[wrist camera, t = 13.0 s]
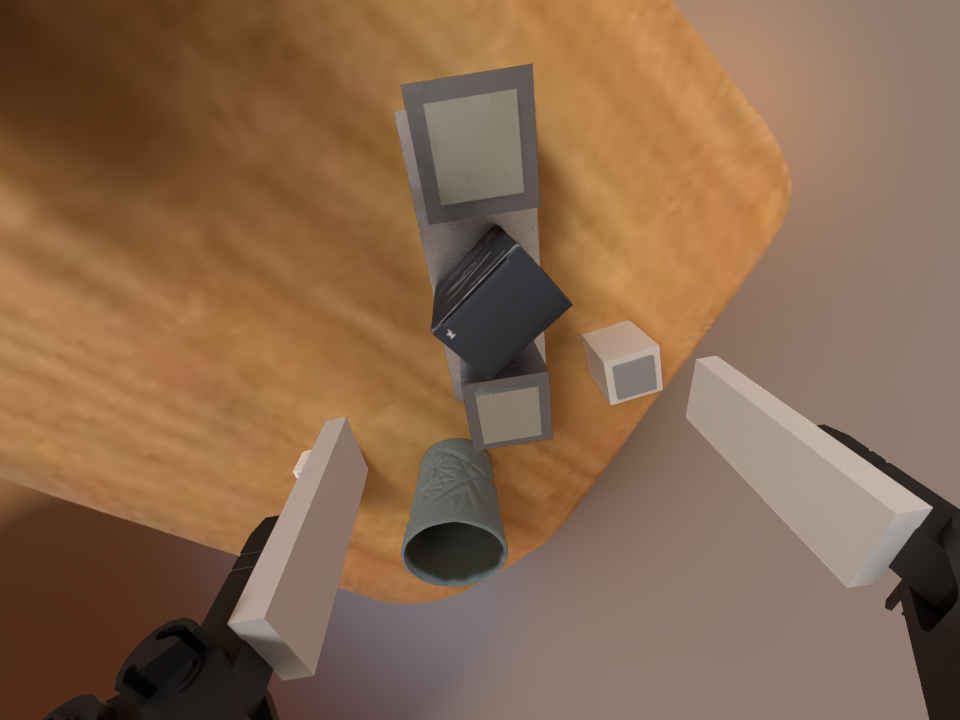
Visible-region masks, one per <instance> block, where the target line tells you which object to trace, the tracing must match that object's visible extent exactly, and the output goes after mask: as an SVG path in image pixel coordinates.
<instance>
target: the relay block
mask: <svg viewBox="0 0 960 720" xmlns="http://www.w3.org/2000/svg"><path fill="white" fill-rule="evenodd" d="M582 339H583V344H584V350H585V355H586V360H587V365H588V370H589V374H590V376H591V377H592V379H593V380H594V381H595V383H596V384H597V386H598V387H599V389H600V390H601V392H602V393H603V395H604V396H605V398H606V399H607V401H608V402H609V404H610V405H614V404H618V403H621V402H624V401H628V400H631V399H634V398H638V397H641V396H644V395H648V394H651V393H655V392H658V391H661V390H663V387H662V374H661V361H660V347H659V345H658V344H657V343H656V342H655V341H654V340H652V339H651V338H650V337H649V336H648V335H646V334H645V333H644V332H643V331H642V330H641V329H639V328H638V327H637V326H636V325H635V324H633V323H632V322H631V321H630V320H627V321H624V322H620V323H617V324H614V325H611V326H608V327H605V328H602V329H598V330H595V331H592V332H589V333H586V334H583V335H582Z"/></svg>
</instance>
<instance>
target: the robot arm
mask: <svg viewBox="0 0 960 720" xmlns="http://www.w3.org/2000/svg"><path fill="white" fill-rule="evenodd" d="M686 418H687V420H689V422H690V423H691V424H692V425H693V426H694V427H695V428H696V429H697V430H698V431H699V432H700V433H701V434H702V435H703V436H704V437H705V438H706V439H707V441H708V442H709V443H710V444H711V445H712V446H713V447H714V448H715V449H716V450H717V451H718V452H719V453H720V454H721V455H722V456H723V457H724V458H725V460H727V462H728V463H729V464H730V465H731V466H732V467H733V468H734V469H735V470H736V471H737V472H738V473H739V474H740V475H741V476H742V477H743V478H744V479H745V481H746V482H747V483H748V484H749V485H750V486H751V487H752V488H753V489H754V490H755V491H756V492H757V493H758V494H759V495H760V496H761V497H762V498H763V500H764V501H765V502H766V503H767V504H768V505H769V506H770V507H771V508H772V509H773V510H774V511H775V512H776V513H777V514H778V515H779V516H780V517H781V519H782V520H783V521H784V522H785V523H786V524H787V525H788V526H789V527H790V528H791V529H792V530H793V531H794V532H795V533H796V534H797V535H798V536H799V537H800V539H802V541H803V542H804V543H805V544H806V545H807V546H808V547H809V548H810V549H811V550H812V551H813V552H814V553H815V554H816V555H817V556H818V557H819V558H820V560H821V561H822V562H823V563H824V564H825V565H826V566H827V567H828V568H829V569H830V570H831V571H832V572H833V573H834V574H835V575H836V576H837V577H838V579H840V581H841V582H842V583H843V584H844V585H845V586H846V587H853V586H860V585H866V584H872V583H877V582H879V581H880V579H881V578H882V577H883V575H884V574H885V573H886V571H887V570H888V568H891V569H892V570H893V571H894V572H895V573H896V574H897V575H898V576H899V577H901V578H902V580H901V582H900V583H899V584H898V586H897V587H896V588H895V589H894V591H893V592H892V593H891V594H890V596H889V597H888V598H887V600H886V604H885V608H886V609H889V610H893V608H894V607H895V606H896V605H897V604H898V602H899V601H900V600H901V603H902V606H903V612H902V615H904V616H905V619H906V623H907V628H908V632H909V636H910V640H911V644H912V649H913V653H914V657H915V661H916V665H917V670H918V674H919V678H920V682H921V686H922V690H923V695H924V699H925V703H926V707H927V711H928V715H929V720H960V509H958V508H957V507H955V506H954V505H952V504H951V503H949V502H948V501H946V500H945V499H943V498H942V497H940V496H939V495H937V494H936V493H934V492H933V491H931V490H930V489H928V488H927V487H925V486H924V485H922V484H921V483H919V482H918V481H916V480H915V479H913V478H912V477H910V476H909V475H907V474H906V473H904V472H903V471H901V470H900V469H898V468H897V467H895V466H894V465H892V464H891V463H886V461H885V459H883V458H882V457H880V456H879V455H877V454H876V453H874V452H873V451H871V452H870V451H869V450H868V448H867V447H865V446H864V445H862V444H861V443H859V442H858V441H856V440H855V439H853V438H852V437H850V436H849V435H847V434H845V433H842V432H840V431H838V430H836V429H833V428H831V427H829V426H826V425H818V426H816V425H814V424H813V423H811V422H810V421H809V420H807V419H806V418H805V417H803V416H802V415H800V414H799V413H797V412H796V411H794V410H793V409H792V408H790V407H789V406H787V405H786V404H784V403H783V402H782V401H780V400H779V399H777V398H776V397H774V396H773V395H772V394H770V393H769V392H767V391H766V390H765V389H763V388H762V387H760V386H759V385H757V384H756V383H755V382H753V381H751V380H750V379H749V378H747V377H746V376H745V375H743V374H742V373H740V372H739V371H738V370H736V369H735V368H733V367H732V366H730V365H729V364H727V363H726V362H725V361H723V360H722V359H720V358H719V357H718V356H712V357H707V358H700V359H696V363H695V368H694V374H693V379H692V385H691V391H690V396H689V401H688V407H687V413H686ZM367 474H368V468H367V465H366V463H365V460H364V458H363V456H362V453H361V451H360V448H359V446H358V444H357V441H356V439H355V437H354V434H353V432H352V429H351V427H350V425H349V422H348V420H347V417H343V418H337V419H331V420H326V421H325V423H324V425H323V428H322V430H321V432H320V434H319V436H318V438H317V440H316V442H315V444H314V446H313V448H312V450H311V452H310V454H309V456H308V458H307V461H306V463H305V465H304V467H303V469H302V471H301V473H300V475H299V477H298V479H297V481H296V483H295V485H294V487H293V489H292V491H291V494H290V496H289V498H288V500H287V502H286V504H285V506H284V508H283V510H282V512H281V514H280V515H279V516H273V517H267V518H265V519H264V520H263V521H262V522H261V523H260V525H259V526H258V527H257V528H256V529H255V530H254V531H253V532H252V533H251V534H250V536H249V538H248V540H247V542H246V544H245V545H244V547H243V549H242V551H241V553H240V554H241V555H240V557H238V558H237V560H236V562H235V564H234V566H233V568H232V572H231V573H229V575H228V577H227V579H226V581H225V583H224V584H223V586H222V588H221V590H220V592H219V594H218V596H217V597H216V599H215V601H214V603H213V605H212V607H211V608H210V610H209V612H208V614H207V616H206V618H205V620H204V622H203V623H202V625H201V627H200V626H199V625H198V624H197V623H196V622H195V621H194V620H193V619H188V618H181V619H177V620H173V621H170V622H168V623H166V624H165V625H163V626H161V627H160V628H158V629H156V630H155V631H153V632H152V633H151V634H150V635H149V636H148V637H147V638H145V639H144V640H143V641H142V642H141V643H140V644H139V645H138V646H137V647H136V648H135V649H134V651H133V652H132V653H131V654H130V655H129V656H128V658H127V659H126V661H125V663H124V664H123V666H122V668H121V669H120V671H119V673H118V675H117V679H116V683H115V687H114V689H115V690H116V691H118V692H119V693H121V694H119V695H117V696H115V697H114V698H111V699H109V700H107V701H104V700H102V699H100V698H99V697H97V696H95V695H81V696H78V697H76V698H73V699H71V700H69V701H67V702H65V703H64V704H62V705H61V706H60V707H58V708H57V709H55V710H54V711H52V712H51V713H50V714H48V715H47V716H46V717H45V718H44V719H43V720H279V717H278V714H277V711H276V708H275V705H274V702H273V699H272V696H271V694H270V693H269V691H268V690H267V686H268V683H269V680H270V677H271V674H272V671H274V672H275V673H276V674H277V675H278V676H279V677H280V678H281V679H282V680H283V681H284V680H290V679H296V678H302V677H307V676H314V674H315V670H316V666H317V662H318V659H319V655H320V651H321V647H322V644H323V640H324V636H325V632H326V629H327V625H328V621H329V617H330V613H331V610H332V606H333V602H334V598H335V595H336V591H337V587H338V583H339V579H340V576H341V572H342V568H343V564H344V561H345V557H346V553H347V549H348V545H349V542H350V538H351V534H352V530H353V527H354V523H355V519H356V515H357V511H358V508H359V504H360V500H361V496H362V493H363V489H364V485H365V481H366V477H367Z"/></svg>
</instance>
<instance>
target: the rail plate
mask: <svg viewBox="0 0 960 720" xmlns="http://www.w3.org/2000/svg"><path fill="white" fill-rule="evenodd" d="M401 88H402V93H403V98H404V103H405V108H406V110H401V111H395V112H394V114H395V119H396V124H397V128H398V133H399V138H400V142H401V147H402V152H403V156H404V161H405V166H406V170H407V175H408V180H409V184H410V189H411V194H412V198H413V203H414V208H415V212H416V217H417V222H418V226H419V231H420V236H421V240H422V245H423V250H424V254H425V259H426V264H427V268H428V273H429V278H430V282H431V287H432V292H433V296H434V295H435V287H436V286H437V285H438V284H439V283H440V282H441V281H442V280H443V279H444V278H445V277H446V276H447V275H448V274H449V273H450V272H451V271H452V270H453V268H454V267H455V266H456V265H457V264H458V263H459V262H460V261H461V260H462V259H463V258H464V256H466V255H467V253H468V252H469V251H470V250H471V249H472V248H473V247H474V246H475V245H476V244H477V243H478V241H480V239H481V238H482V237H483V236H484V235H485V234H486V233H487V232H488V231H489V230H490V229H491V228H492V227H493V226H494V225H495V224H497V225H500V226H501V227H502V228H503V229H504V231H505V232H506V233H507V234H508V235H509V236H510V237H512V238H513V239H514V240H515V241H516V242H517V243H519V244H520V245H521V247H522V248H523V249H524V250H525V251H526V252H527V253H528V254H529V255H530V256H531V257H532V259H533V260H534V261H535V262H536V263H537V264H538V265H539V266H540V252H539V234H538V217H537V207H540V195H539V177H538V158H537V139H536V120H535V102H534V83H533V64H527V65H521V66H515V67H509V68H503V69H497V70H490V71H484V72H478V73H472V74H466V75H460V76H453V77H447V78H441V79H435V80H429V81H423V82H416V83H410V84H404V85H401ZM444 348H445V353H446V357H447V362H448V367H449V371H450V376H451V381H452V385H453V390H454V395H455V399H456V401H462V400H464V403H465V408H466V413H467V418H468V423H469V428H470V433H471V438H472V443H473V448H474V451H480V450H486V449H492V448H498V447H504V446H511V445H517V444H523V443H529V442H536V441H542V440H548V439H553V438H552V419H551V401H550V382H549V370H548V368H547V366H546V356H545V339H544V331H543V332H542V333H541V334H540V335H539V336H538V337H537V338H536V339H534V340H533V341H532V342H531V343H530V344H529V345H528V346H527V347H526V348H524V349H523V350H522V351H521V352H520V353H519V354H518V355H517V356H516V357H515V358H513V359H512V360H511V361H510V362H509V363H508V364H507V365H506V366H505V367H503V368H502V369H501V370H500V371H499V372H498V373H497V374H496V375H495V376H494V377H492V378H491V379H490V380H488V379H487V378H486V377H484V376H483V375H482V374H480V373H479V372H478V371H477V370H475V369H474V368H473V367H472V366H470V365H469V364H468V363H467V362H465V361H464V360H463V359H462V358H461V357H459V356H458V355H457V354H456V353H454V352H453V351H452V350H451V349H450V348H448V347H447V346H446V345H445V344H444Z"/></svg>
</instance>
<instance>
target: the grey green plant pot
mask: <svg viewBox="0 0 960 720" xmlns="http://www.w3.org/2000/svg"><path fill="white" fill-rule="evenodd" d="M492 480H493V472H492V467H491V462H490V459H489V456H488V454H487V452H486V451H485V450H480V451H474V448H473V443H472V441H470V440H466V439H457V438H456V439H448V440H444V441H441V442H439V443H437V444H435V445H433V446H432V447H431V448H430V449H429V450H428V451H427V452H426V453H425V455H424V457H423V459H422V462H421V466H420V472H419V476H418V481H417V485H416V492H415V494H414V499H413V501H412V507H411V511H410V515H411V518H410V520H409V522H408V524H407V528H406V533H405V537H404V541H403V545H402V549H401V557H402V562H403V564H404V566H405V568H406V569H407V570H408V571H409V572H410V573H411V574H412V575H413V576H415V577H416V578H418V579H420V580H422V581H425V582H427V583H430V584H434V585H437V586H446V587H460V586H467V585H472V584H476V583H479V582H482V581H484V580H486V579H488V578H490V577H492V576H493V575H494V574H496V573H497V572H498V571H499V570H500V569H501V568H502V567H503V566H504V564H505V562H506V559H507V556H508V547H507V542H506V537H505V533H504V528H503V523H502V520H501V515H500V509H499V502H498V497H497V494H496V489H495V486H494V483H493V481H492Z"/></svg>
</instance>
